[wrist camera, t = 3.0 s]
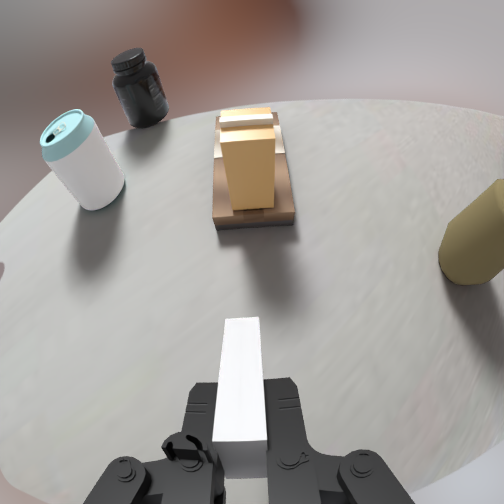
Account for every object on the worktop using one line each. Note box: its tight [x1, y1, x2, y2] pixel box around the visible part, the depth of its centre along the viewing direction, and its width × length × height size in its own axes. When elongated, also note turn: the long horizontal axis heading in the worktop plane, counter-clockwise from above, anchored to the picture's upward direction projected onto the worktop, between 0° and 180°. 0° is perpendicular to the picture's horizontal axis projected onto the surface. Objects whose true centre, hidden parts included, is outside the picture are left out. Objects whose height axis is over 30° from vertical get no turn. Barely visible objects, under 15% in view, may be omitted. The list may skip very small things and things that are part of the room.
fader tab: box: [219, 107, 276, 211], centre depth 25 cm, size 4×4×11 cm
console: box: [212, 112, 295, 230], centre depth 32 cm, size 16×8×3 cm, turn 3°
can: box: [40, 109, 124, 210], centre depth 28 cm, size 7×7×12 cm
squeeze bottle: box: [438, 179, 504, 285], centre depth 19 cm, size 8×8×18 cm
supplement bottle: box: [111, 48, 169, 128], centre depth 34 cm, size 7×7×12 cm
